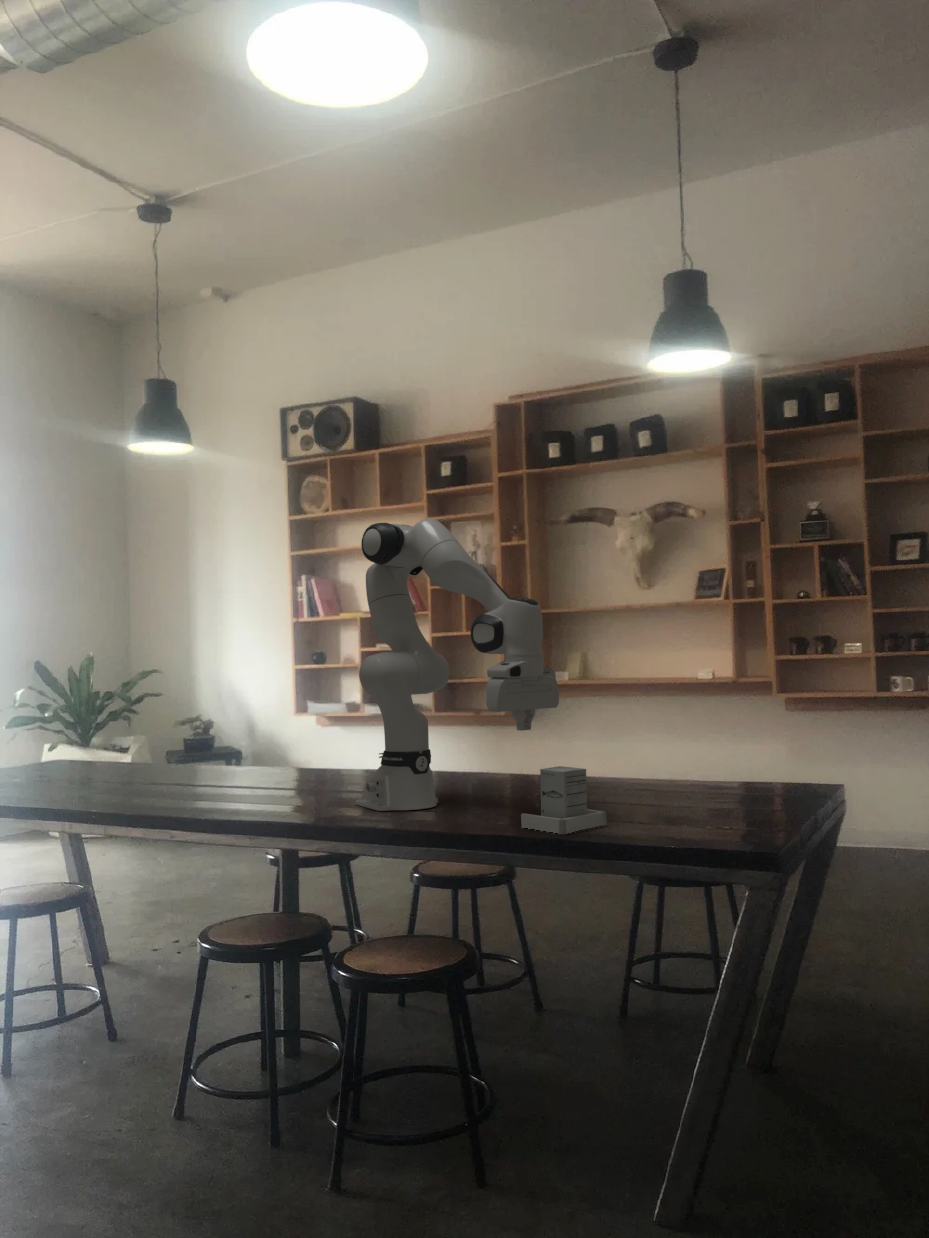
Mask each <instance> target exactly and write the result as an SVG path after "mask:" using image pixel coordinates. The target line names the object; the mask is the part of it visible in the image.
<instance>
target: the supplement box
mask: <svg viewBox="0 0 929 1238" xmlns="http://www.w3.org/2000/svg"><path fill="white" fill-rule="evenodd" d="M539 772H540V773H539V775H540V778H539V779H540V816H545V817H552V818H559V819H565V818H570V817H575V816H580V815H585V814H587V809H588V800H587V799H588V793H587V768H579V767H571V766H562V765H561V766H553V767H546V768H540V769H539Z"/></svg>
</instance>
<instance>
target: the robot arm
mask: <svg viewBox="0 0 929 1238" xmlns="http://www.w3.org/2000/svg"><path fill="white" fill-rule="evenodd" d="M361 537H362V538H361V543H360V545H361V551H362V554H363V556H364V557H365V558H366V560H368V561H369V562H372V563H373V564H371V565H370V566H369V567H368V569H366V572H365V590H366V591H365V593H366V598H367V605H368V610H369V615H370V618H371V624H372V629H373V633H374V635H375V636H376V637H377V638H378V639H379V640H381V642H383V643H385V644H386V645H387V646H388V647H389V648H390V650H391V651H383V652H379V653H375V654H371V655H368V656H366V657H365V658H364V659H363V660H362V662H361V664H360V667H359V671H358V677H359V682H360V685H361V687H362V689H363V690H364V691H365V692H366V693H368V694H369V695H370V696H371V697H372V698H373V699H374V701H375V703H376V704H377V707H378V709H379V710H380V713H381V714H380V715H381V717H382V722H383V733H384V750H383V752H380V753H378V755H380V756H378V758H379V759H381V761H380V766H379V767H378V768H377V770H375V771H374V772H373V773H372V774H371V776H370V777H368V778H367V779H366V780H365V784H364V795H363V796H364V797H363V798H359V799H357V800H355V802H354V805H357V806H361V807H363V808H367V809H371V810H374V811H379V812H382V811H383V812H384V811H385V812H387V811H413V810H423V809H431V808H433V807H436V806H437V804H438V803H439V798H438V797H436V791H435V784H434V776H433V775H434V774H433V770H432V769H431V767H430V764H431V763H432V754H431V753H432V752H431V749H430V747H429V745H430V744H429V719H428V718H427V717H426V715H425V714H424V713H423V712H421V711H419V710H418V709H417V707H416V706H415V704H414V703H413V698H412V695H427V694H430V693H434V692H437V691H439V690H440V691H441V690H442V689H444V688H445V687H446V686H447V684H448V682H449V680H450V667H449V666H450V665H449V663H448V661H447V659H446V658H445V657H444V655H442V654H440V653H439V652H438V651H436V650H435V649H434V648H433V647H432V646H431V645H430V643H429V642H428V640H427V639H426V638H425V637H424V634H423V633H422V631H421V629H420V627H419V624H418V622H417V619H416V615H415V610H414V607H413V603H412V598H411V595H410V591H409V586H408V578H409V576H410V575H411V576H417V575H419V574H420V573H421V572H422V571H423V572H424V573H425V574H426V575H427V577H428V579H429V580H430V581H431V582H433V583H434V584H435V585H436V586H438V587H439V588H441V589H443V590H445V591H449V592H453V593H456V594H460V595H464V596H467V597H468V598H469V597H470V598H472V599H473V600H476V601H478V603H480V604H481V605H483V607H484V608H485V610H487V611H488V612H485V613H482V614H479V615H478V616H476V617H475V619H474V620H473V622H472V623H471V627H470V640H471V643H472V645H473V647H474V648H475V649H476V651H478V652H480V653H482V654H487V655H503V660H502V661H500V662H498V663H496V664H494V665H492V666H490V667H488V668H487V670H486V675H487V677H489V679H488V680H487V682H486V690H485V691H486V692H485V694H486V695H485V705H486V708H487V710H488V711H489V712H493V713H494V712H495V713H497V712H498V713H501V712H512V716H513V718H514V720H515V723H516V731H530V730H532V721H533V720H534V717H535V715H536V710H543V709H554V708H555V709H556V708H557V707H558V706H559V703H560V697H559V686H558V682H557V679H556V678H557V675H556V672H555V671H554V670H553V668H550V667H546V668H545V667H544V651H543V650H542V640H543V637H544V631H543V630H544V629H543V628H544V627H543V623H544V622H543V612H542V608H541V606H540V603H539V602H538V601H537V600H534V599H532V598H527V597H518V596H511V597H510V595H509V594H507V592H506V591H505V590H504V589H503V588H502V587H501V586H500V584H499V583H498V582H497V581H496V580H495V579H494V577H492V576H491V575H490V574H489V573H488V572H487V571H486V570H485V569H484V568H482V567H481V566H480V565H479V564H478V563H477V562H476V561H475V560H474V559H473V557H471V555H470V554H469V553H468V552H467V550H465V548H464V547H463V546H462V545H461V544H460V542H459V541H458V539H457V538H456V537H455V535H454V534H452V532H451V531H450V530H449V529H448V528H447V527H446V526H445V525H444V524H442V522H440V521H439V520H437V519H435V518H424V519H421V520H419V521H418V522H416V523H415V524H414V525H413V526H412V525H408V524H403V523H402V524H401V523H400V524H397V523H396V524H395V523H388V522H375V523H373V524H371V525H369V526H368V527H367V528H366V529H365V530H364V532H363V534H362V536H361ZM523 716H525V717H524V718H523Z"/></svg>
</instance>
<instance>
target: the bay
mask: <svg viewBox="0 0 929 1238" xmlns="http://www.w3.org/2000/svg"><path fill="white" fill-rule="evenodd" d="M520 821H521V824H520V825H521V829H524V828H528V829H527V830H530V829H535V830H534V831H536V830H540V831H539V832H543V831H546V832H545V833H549V832H553V833H552V834H555V833H558V834H557V835H561V834H562V835H563V836H564V835H568V833H569V834H573V833H572V832H574V833H576V832H575V831H579V830H583V829H587V828H592V827H596V826H601V825H607V822H608V821H607V811H604V810H598V809H597V810H595V809H590V808H589V809H588V808H587V814H585V815H580V816H575V817H570V818H565V819H559V818H552V817H545V816H541V815H538V814H531V813H530V814H529V813H520ZM607 826H608V825H607ZM583 831H584V830H583ZM579 832H580V831H579Z"/></svg>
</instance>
